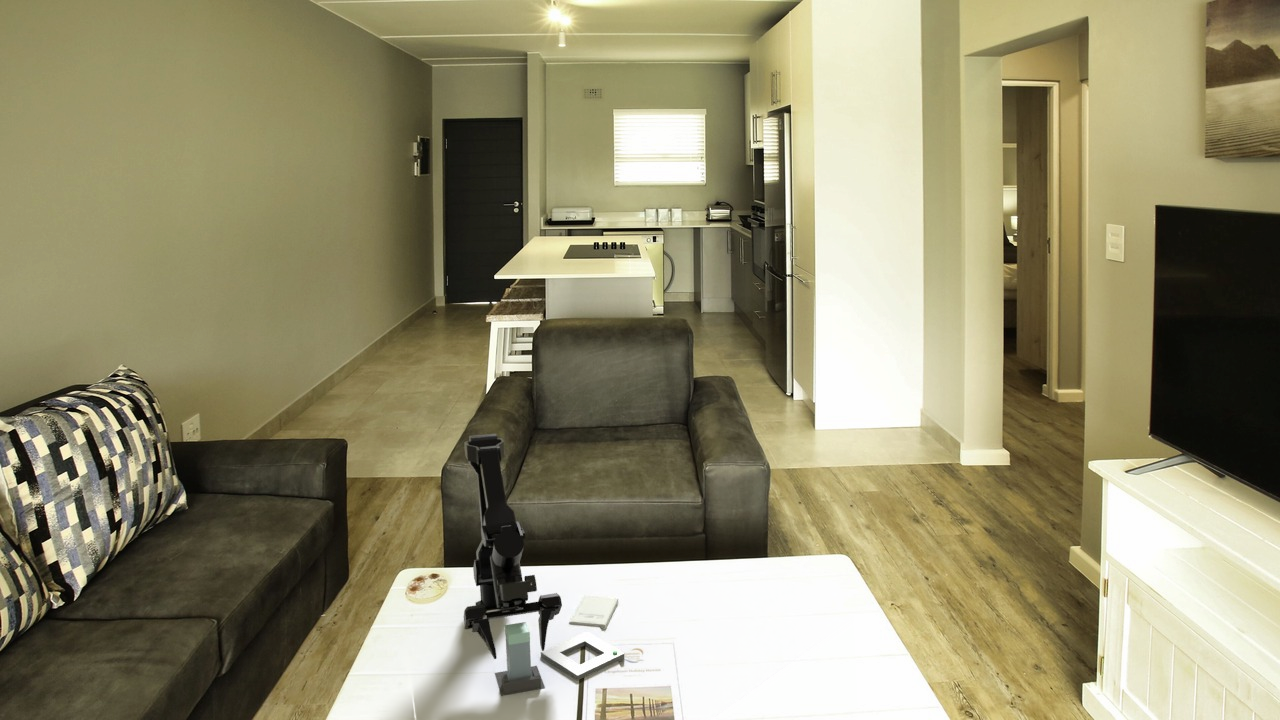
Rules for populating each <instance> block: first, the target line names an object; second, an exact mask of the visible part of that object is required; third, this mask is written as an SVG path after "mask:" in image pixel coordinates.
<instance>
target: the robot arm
mask: <svg viewBox="0 0 1280 720" xmlns="http://www.w3.org/2000/svg"><path fill="white" fill-rule="evenodd" d="M468 438H469V439H468V440H467V441H464V442H463V445H464V447H463V449H464V454H465V455H464V456H465V458H466V461H468V464H469V466H470V467H471V468H472V470H473V471H474V472H475V474H476V482H477V492H478V502H479V503H478V507H479V517H480V535H481V540H480V543H479V545H478V547H477V549H476V552H475V553H476V554H475V555H476V559H474V560H473V561H474V562H473V568H472V570H473V579H474V583H475V586H476V587H479V589H480V590H479V591H480V600H478V601H476V602H475V605H469V606H466V608H464V611H463V625H464V629H465V630H471V632H472V633H477V634H478V635H479V636H480V638H481V639H482V640H483V642H484V643H485V645H486V647H487V649H488V650H489V652H490V654H491V656H492V658H493V660H496V659H497V651H496V646H495V642H494V638H493V634H492V633H493V632H492V630H491V626H490V625H491V624H490V620H493V619H499V618H506V617H513V616H519V615H526V614H533V613H536V612H537V613H538V615H539V617H538V622H537V623H538V631H539V632H538V633H539V644H540V649H541V652H542V651H544V650H545V649H546V648H545V647H546V639H547V632H548V626H549V621H552V620H554V617H555V616H557V615H559V614H560V612H561V609H562V606H563V603H562V598H561V596H560V595H559V594H558V592H555V593H549V594H542V595H540V596H539V598H538V601H533V602H527V601H528V600H529V593H535V592H537V591H538V588H537V579H536V576H535V574H529V575H525V576H524V578H523V574H522V568H521V563H520V561H521V559H522V555H523V551H524V546H525V541H524V540H525V539H526V533H525V530H524V528H523V526H522V525H521V524H520V521H518V520H516V514H515V510H514V509H512V507H510V505H508V503H507V498H506V492H505V485H504V479H503V474H502V467H501V463H502V460H503V459H504V458H505V457H506V451H505V450H506V449H505V440H504V439H503V438H502V437H498V436H497V433H486V434H476V435H469V436H468ZM523 579H524V580H523Z"/></svg>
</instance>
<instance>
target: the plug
mask: <svg viewBox="0 0 1280 720" xmlns="http://www.w3.org/2000/svg"><path fill="white" fill-rule="evenodd" d="M530 633H531V632H530V629H529V627H528V624H527V622H526V621H523V622H522V621H521V622H517V623H509V624H505V625H504V634H505V648H506V649H505V651H506V669H507V670H506V671H507V674H508V679H509V681H511V680H516V679H522V678H528V677H531V667H532V663H531V662H532V659H531V658H532V657H531V634H530Z"/></svg>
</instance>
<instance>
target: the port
mask: <svg viewBox="0 0 1280 720" xmlns="http://www.w3.org/2000/svg"><path fill="white" fill-rule="evenodd" d="M583 647H586V648H588V649H590V650H591V651H593V652H595V653H596V654H599V655H598V656H596V657H593V658H592V659H590V660H587V661H585V662H582V663H581V664H579V663H577V662H576V661H574V660H573V659H571V658H569V657H568V656H567V655H568V654H569V653H572V652H574V651H576V650H578V649H581V648H583ZM540 658H542V659H544V660H545V661H547V662H548V663H550V664H551V665H552V666H555V667H557V668H558V669H559V670H561V671H562V672H564V673H565V674H567V675H568V676H570V677H571V678H573V679H574V680H576V681H580V680H581V679H584V678H586V677H589V676H590V675H592V674H594V673H596V672H598V671H601V670H602V669H605V668H607V667H609V666H611V665H613V664H615V663H617V662H619V663H621V662H623V661H625V653H624V652H623V651H621V650H619V649H618V648H616V647H614V646H613V645H610V643H607V642H606V641H603V640H602V639H600V638H599V637H597V636H595V635H594V634H592V633H590V632H588V631H585V632H583V633H580V634H578V635H575V636H574V637H572V638H569V639H567V640H565V641H563V642H561V643H558V644H556V645H553V646H551V647H549V648H547V649H544V651H542V650H541V651H540Z"/></svg>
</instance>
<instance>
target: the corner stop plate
mask: <svg viewBox="0 0 1280 720" xmlns="http://www.w3.org/2000/svg"><path fill="white" fill-rule="evenodd" d="M494 675H495V680H496V682H497V685H498V689H499V693H500V696H501V697H504V696H509V695H516V694H521V693H526V692H532V691H537V690H542V689H546V686H545V684H544V680H543V679H542V675H541V674H540V670H539V668H538V665H533V666H532V665H531V677H528V678H522V679H516V680H511V681H509V679H508V674H507V670H503V671H497V672H494Z"/></svg>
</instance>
